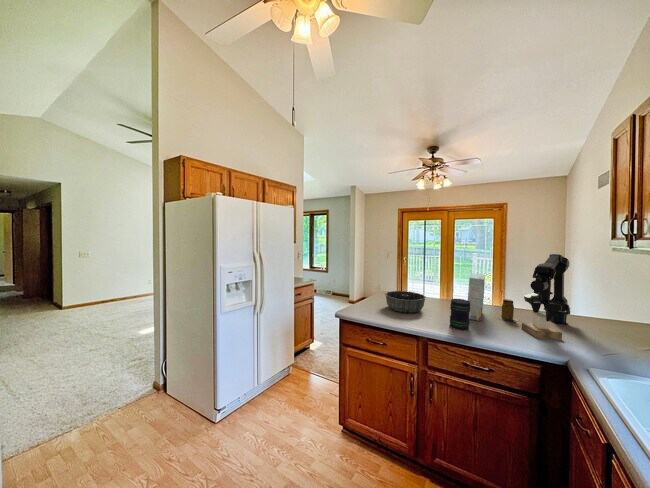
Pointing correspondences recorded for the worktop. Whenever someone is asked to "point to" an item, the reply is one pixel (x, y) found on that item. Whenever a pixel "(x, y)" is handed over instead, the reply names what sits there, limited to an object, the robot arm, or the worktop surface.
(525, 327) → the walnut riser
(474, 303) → the snack box
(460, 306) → the storage jar
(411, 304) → the bundt pan
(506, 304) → the condiment
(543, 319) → the cream block
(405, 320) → the worktop surface
